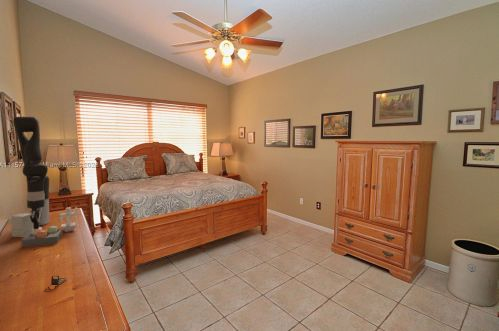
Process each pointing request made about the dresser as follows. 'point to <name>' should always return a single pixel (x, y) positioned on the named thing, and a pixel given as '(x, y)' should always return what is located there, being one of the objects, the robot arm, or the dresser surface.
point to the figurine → (68, 219)
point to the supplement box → (21, 225)
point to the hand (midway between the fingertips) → (36, 228)
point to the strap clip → (57, 280)
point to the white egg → (34, 231)
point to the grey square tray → (41, 239)
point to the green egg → (52, 229)
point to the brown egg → (41, 233)
